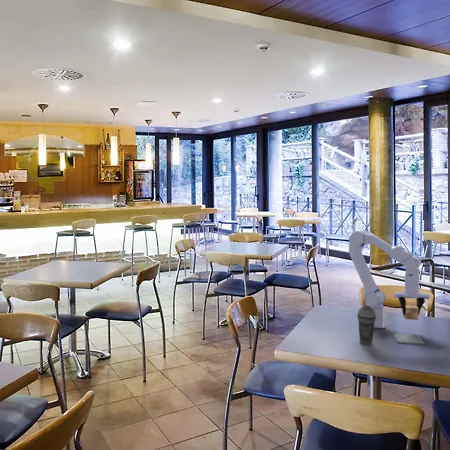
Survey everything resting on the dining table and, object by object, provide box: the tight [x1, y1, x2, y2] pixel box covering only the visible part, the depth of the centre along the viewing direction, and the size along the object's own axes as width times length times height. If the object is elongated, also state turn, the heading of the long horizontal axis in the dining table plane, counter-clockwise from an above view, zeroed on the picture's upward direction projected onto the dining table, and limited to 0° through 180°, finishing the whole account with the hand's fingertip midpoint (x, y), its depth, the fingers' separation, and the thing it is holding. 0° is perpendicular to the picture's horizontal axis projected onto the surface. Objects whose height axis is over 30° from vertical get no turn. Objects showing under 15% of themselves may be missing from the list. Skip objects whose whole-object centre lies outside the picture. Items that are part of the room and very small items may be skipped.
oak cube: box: [402, 304, 419, 321], centre depth 203 cm, size 5×5×5 cm
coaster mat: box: [393, 333, 425, 346], centre depth 194 cm, size 10×10×1 cm
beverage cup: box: [357, 294, 376, 347], centre depth 188 cm, size 7×7×20 cm
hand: (410, 314), depth 203 cm, fingers closed on oak cube, 5 cm apart
